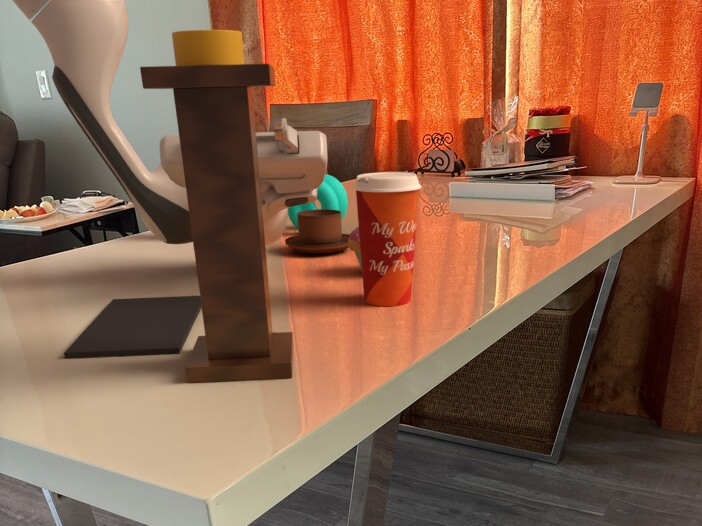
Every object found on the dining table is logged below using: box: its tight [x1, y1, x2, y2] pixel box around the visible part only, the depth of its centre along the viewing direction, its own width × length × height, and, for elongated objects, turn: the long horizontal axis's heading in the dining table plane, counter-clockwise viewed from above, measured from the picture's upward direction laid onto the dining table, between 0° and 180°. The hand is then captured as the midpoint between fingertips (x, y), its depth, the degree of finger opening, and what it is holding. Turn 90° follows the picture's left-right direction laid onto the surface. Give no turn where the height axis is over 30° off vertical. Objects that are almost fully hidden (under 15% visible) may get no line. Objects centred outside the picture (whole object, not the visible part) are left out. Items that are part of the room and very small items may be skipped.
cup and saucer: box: [284, 208, 350, 254], centre depth 120 cm, size 12×12×6 cm
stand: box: [139, 63, 294, 384], centre depth 66 cm, size 10×10×26 cm
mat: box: [63, 295, 202, 359], centre depth 85 cm, size 12×22×1 cm, turn 4°
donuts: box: [288, 173, 349, 230], centre depth 136 cm, size 10×10×10 cm
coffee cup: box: [352, 171, 422, 307], centre depth 89 cm, size 8×8×15 cm
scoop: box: [171, 29, 245, 66], centre depth 64 cm, size 18×6×2 cm, turn 4°
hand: (238, 125), depth 81 cm, fingers open, 8 cm apart
